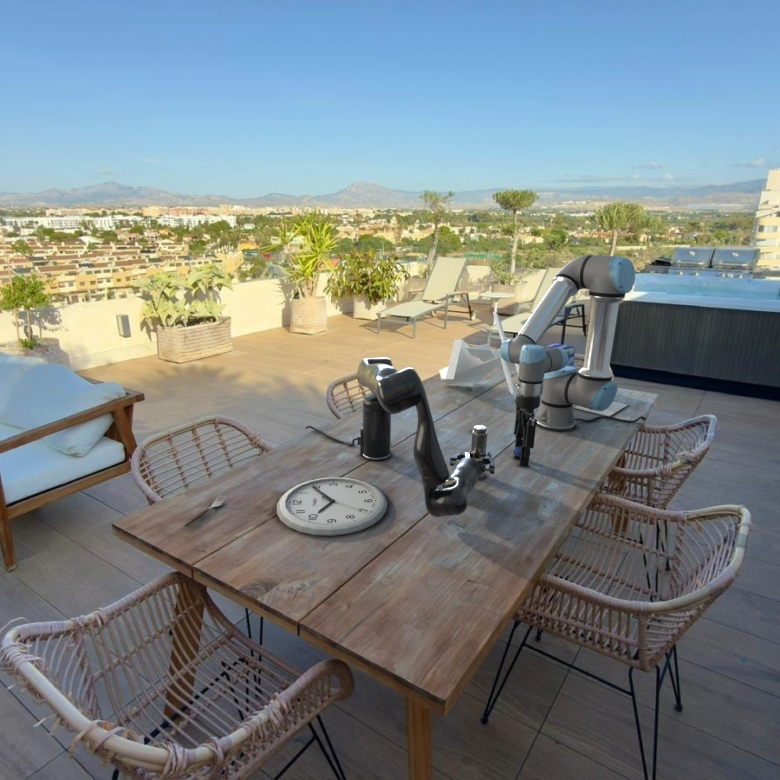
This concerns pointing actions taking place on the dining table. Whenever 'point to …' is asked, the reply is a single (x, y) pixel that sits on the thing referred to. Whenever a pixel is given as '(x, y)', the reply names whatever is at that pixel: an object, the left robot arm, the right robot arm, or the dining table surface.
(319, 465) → the dining table surface
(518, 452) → the lid
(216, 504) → the fork
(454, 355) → the white plastic object
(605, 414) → the invitation card
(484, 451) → the jar
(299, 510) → the wall clock
